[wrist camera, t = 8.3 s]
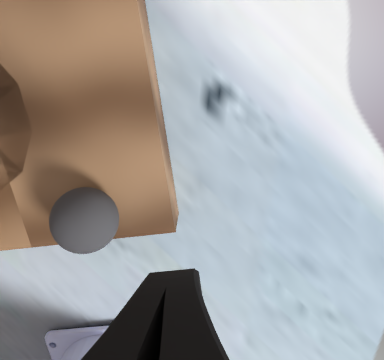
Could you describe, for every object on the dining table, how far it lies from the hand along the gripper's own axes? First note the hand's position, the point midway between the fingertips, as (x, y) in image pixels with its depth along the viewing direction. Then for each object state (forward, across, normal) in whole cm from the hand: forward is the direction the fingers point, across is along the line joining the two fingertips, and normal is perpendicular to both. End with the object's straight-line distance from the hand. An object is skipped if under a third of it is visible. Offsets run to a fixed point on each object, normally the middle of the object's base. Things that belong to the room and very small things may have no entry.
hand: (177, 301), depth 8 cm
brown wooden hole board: (+10, +9, -4) cm, 14 cm away
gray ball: (+6, +5, 0) cm, 8 cm away
